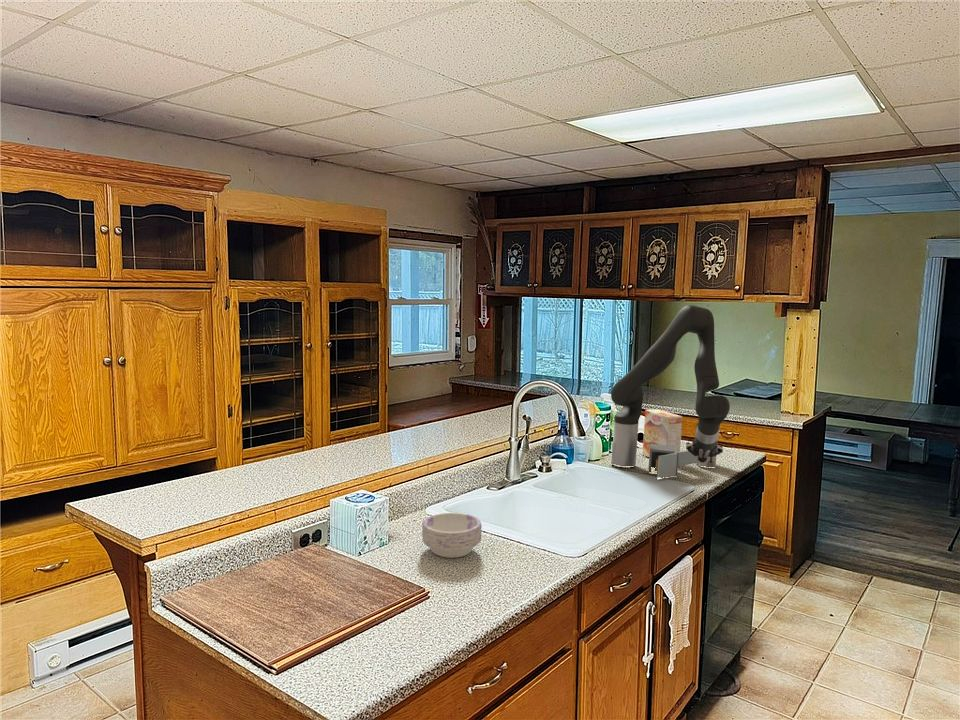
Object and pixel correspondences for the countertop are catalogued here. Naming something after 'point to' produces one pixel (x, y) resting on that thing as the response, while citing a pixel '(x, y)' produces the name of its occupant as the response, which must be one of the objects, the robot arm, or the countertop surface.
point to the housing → (658, 454)
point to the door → (674, 463)
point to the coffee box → (708, 460)
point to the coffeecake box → (661, 430)
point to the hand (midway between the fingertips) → (701, 460)
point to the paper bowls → (451, 534)
